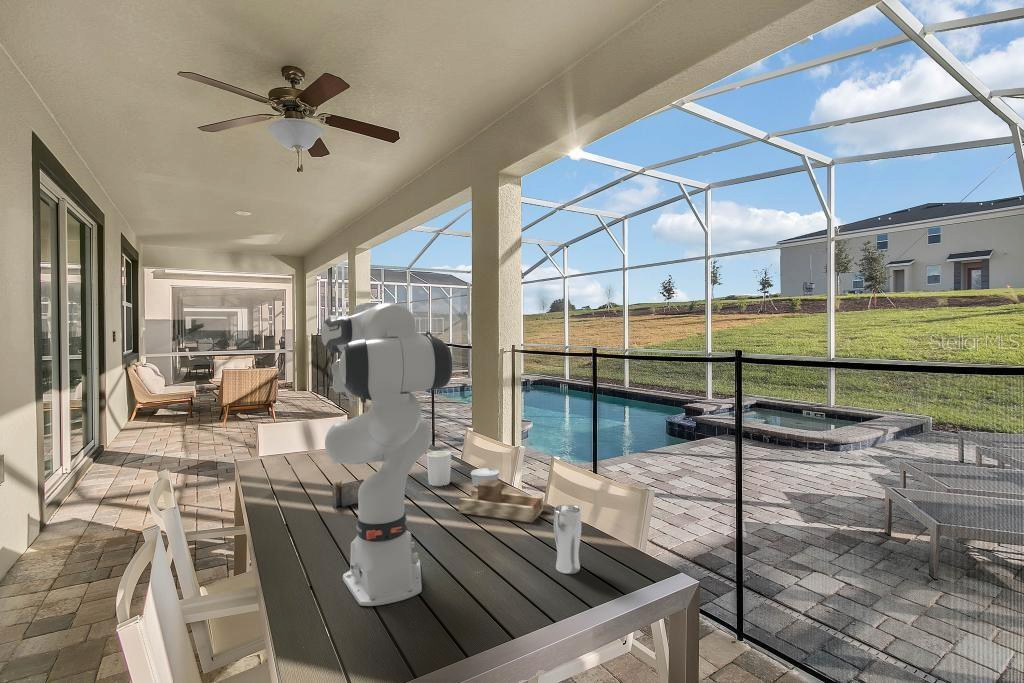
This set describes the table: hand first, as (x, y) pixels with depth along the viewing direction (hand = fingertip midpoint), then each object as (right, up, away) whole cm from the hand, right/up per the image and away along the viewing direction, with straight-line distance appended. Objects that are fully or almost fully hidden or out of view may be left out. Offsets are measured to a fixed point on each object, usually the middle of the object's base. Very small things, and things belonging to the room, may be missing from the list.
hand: (369, 404), depth 140 cm
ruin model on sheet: (-16, -40, +29) cm, 51 cm away
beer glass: (+56, -39, -20) cm, 71 cm away
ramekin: (+32, -39, +48) cm, 69 cm away
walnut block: (+35, -37, +21) cm, 55 cm away
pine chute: (+38, -38, +19) cm, 58 cm away
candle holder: (+13, -39, +51) cm, 65 cm away
